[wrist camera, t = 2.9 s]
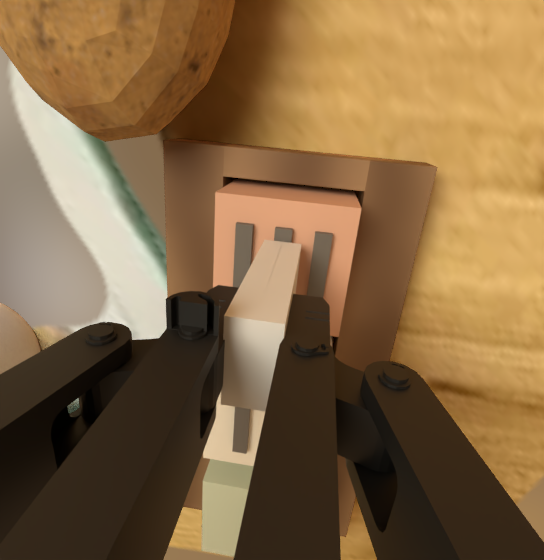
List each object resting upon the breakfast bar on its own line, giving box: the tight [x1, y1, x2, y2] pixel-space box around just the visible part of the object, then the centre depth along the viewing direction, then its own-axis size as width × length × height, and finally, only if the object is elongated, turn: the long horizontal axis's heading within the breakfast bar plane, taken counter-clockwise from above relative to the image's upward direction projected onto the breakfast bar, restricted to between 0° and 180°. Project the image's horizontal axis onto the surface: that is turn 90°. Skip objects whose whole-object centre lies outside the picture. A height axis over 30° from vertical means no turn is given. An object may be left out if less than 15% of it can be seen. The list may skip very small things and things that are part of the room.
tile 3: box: [213, 179, 362, 337], centre depth 18 cm, size 6×6×4 cm
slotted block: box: [202, 459, 253, 557], centre depth 22 cm, size 6×6×4 cm
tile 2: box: [203, 336, 332, 466], centre depth 20 cm, size 6×6×4 cm
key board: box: [163, 139, 437, 537], centre depth 22 cm, size 12×24×2 cm, turn 175°
